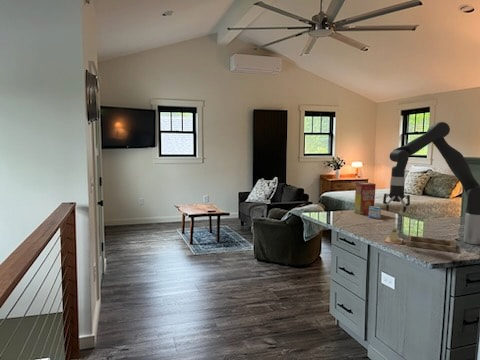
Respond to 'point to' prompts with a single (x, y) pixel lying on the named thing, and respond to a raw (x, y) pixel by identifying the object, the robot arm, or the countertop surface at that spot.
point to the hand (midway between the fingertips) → (395, 211)
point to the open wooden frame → (431, 246)
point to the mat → (393, 241)
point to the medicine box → (375, 212)
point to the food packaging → (364, 197)
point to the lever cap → (394, 235)
